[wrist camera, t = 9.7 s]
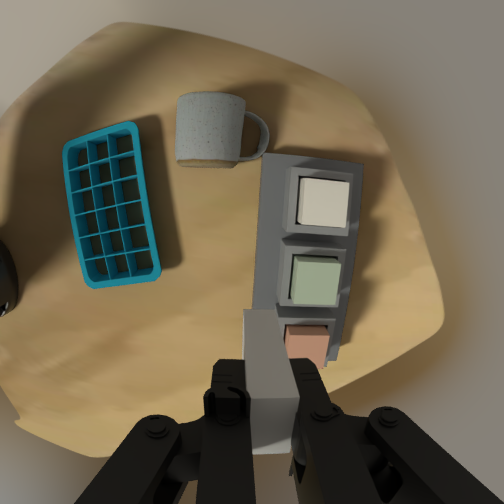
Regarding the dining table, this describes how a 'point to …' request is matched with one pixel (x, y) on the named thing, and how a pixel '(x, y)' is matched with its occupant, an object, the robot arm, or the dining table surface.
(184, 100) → the ceramic mug
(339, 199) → the ivory key
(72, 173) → the ice cube tray
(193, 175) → the dining table surface
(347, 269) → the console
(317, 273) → the sage key
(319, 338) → the terracotta key
